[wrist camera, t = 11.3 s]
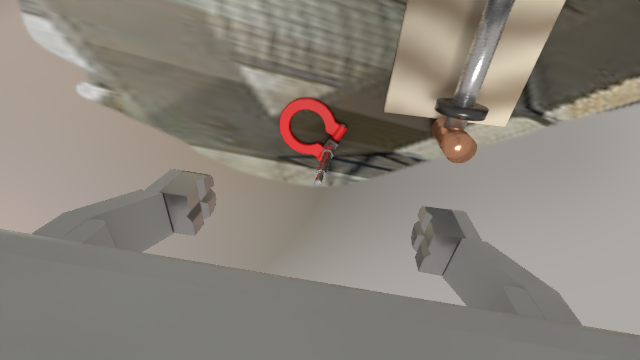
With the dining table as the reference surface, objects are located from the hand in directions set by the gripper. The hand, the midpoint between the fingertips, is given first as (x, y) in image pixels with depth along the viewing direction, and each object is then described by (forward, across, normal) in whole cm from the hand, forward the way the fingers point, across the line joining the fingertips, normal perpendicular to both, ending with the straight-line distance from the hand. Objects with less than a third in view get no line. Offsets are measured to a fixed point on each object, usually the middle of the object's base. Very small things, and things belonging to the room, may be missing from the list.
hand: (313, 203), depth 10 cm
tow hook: (+30, +4, +8) cm, 31 cm away
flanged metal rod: (+27, -14, -3) cm, 31 cm away
